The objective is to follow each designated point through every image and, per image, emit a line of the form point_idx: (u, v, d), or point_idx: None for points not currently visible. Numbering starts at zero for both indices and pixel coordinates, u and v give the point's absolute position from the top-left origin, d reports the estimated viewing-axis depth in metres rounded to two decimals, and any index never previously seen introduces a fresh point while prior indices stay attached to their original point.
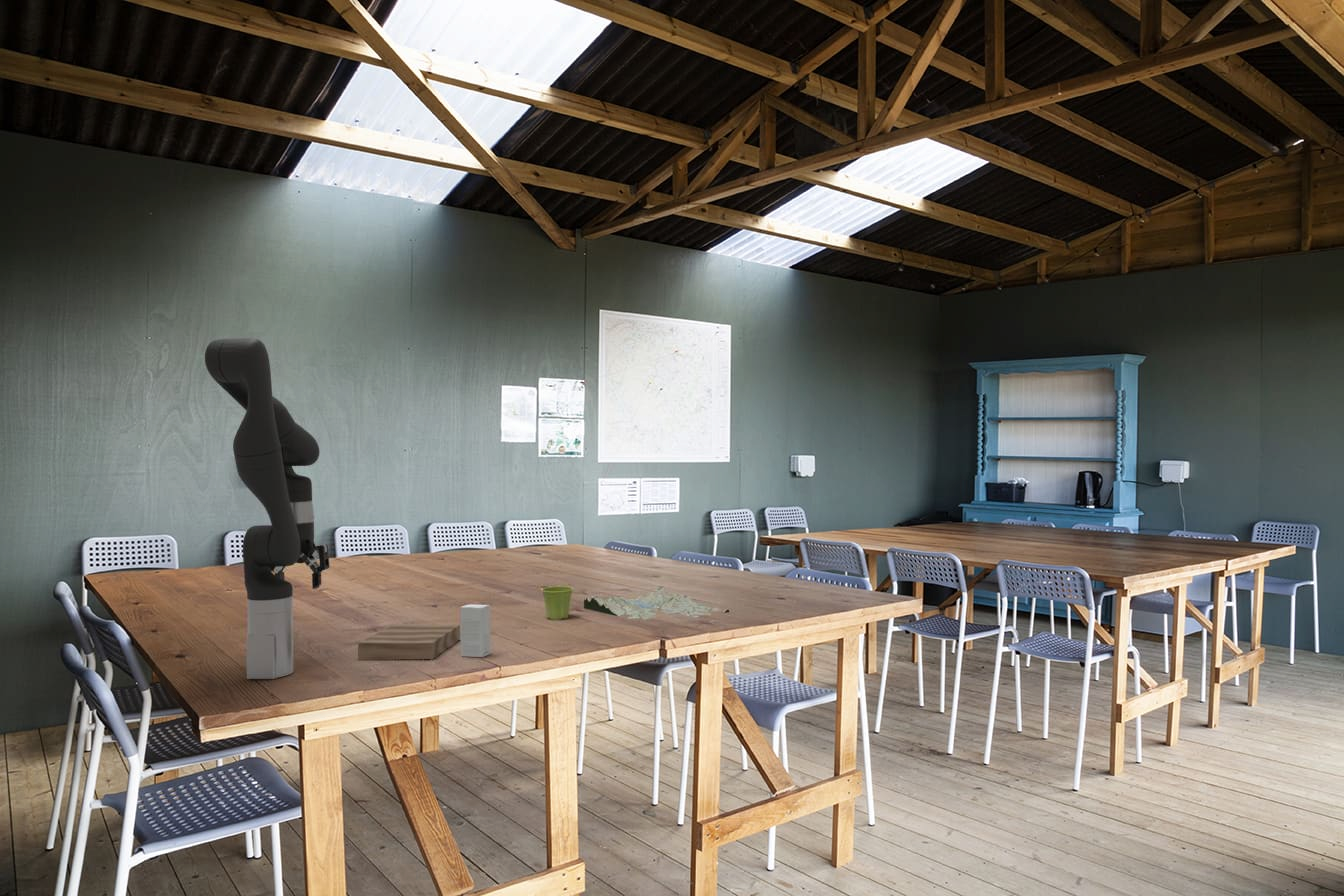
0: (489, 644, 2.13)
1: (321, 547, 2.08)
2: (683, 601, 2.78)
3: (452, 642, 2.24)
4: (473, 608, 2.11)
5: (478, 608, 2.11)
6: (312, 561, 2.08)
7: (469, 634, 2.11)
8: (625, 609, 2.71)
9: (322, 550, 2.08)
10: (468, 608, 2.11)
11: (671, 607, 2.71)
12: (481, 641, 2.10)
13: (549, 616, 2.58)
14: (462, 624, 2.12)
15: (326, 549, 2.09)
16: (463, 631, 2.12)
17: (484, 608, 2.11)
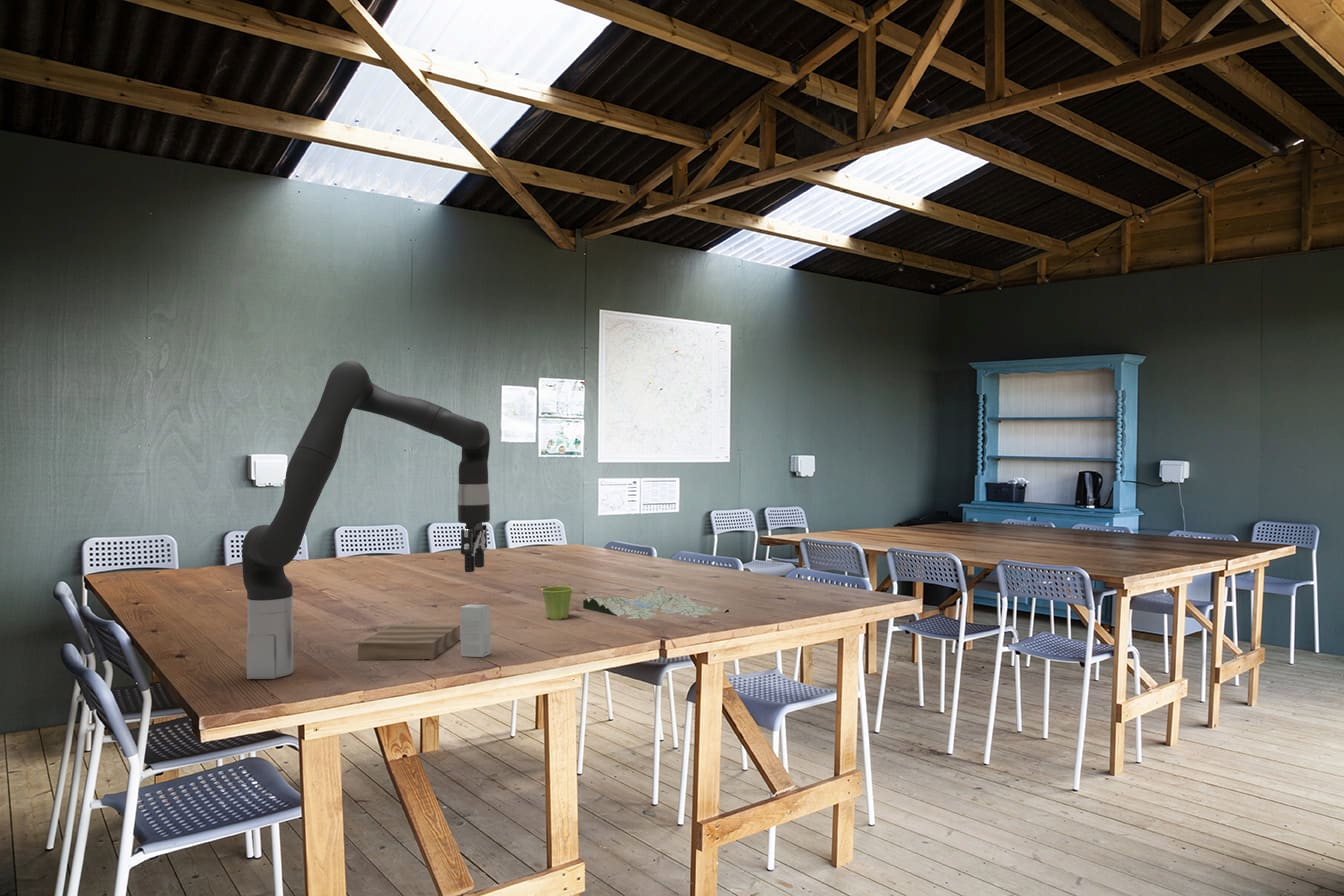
0: (489, 644, 2.13)
1: (486, 526, 2.19)
2: (682, 601, 2.78)
3: (452, 642, 2.24)
4: (473, 608, 2.11)
5: (478, 608, 2.11)
6: None
7: (469, 634, 2.11)
8: (625, 609, 2.70)
9: (486, 529, 2.20)
10: (468, 608, 2.11)
11: (671, 607, 2.71)
12: (481, 641, 2.10)
13: (549, 616, 2.58)
14: (462, 624, 2.12)
15: None
16: (463, 631, 2.12)
17: (484, 608, 2.11)
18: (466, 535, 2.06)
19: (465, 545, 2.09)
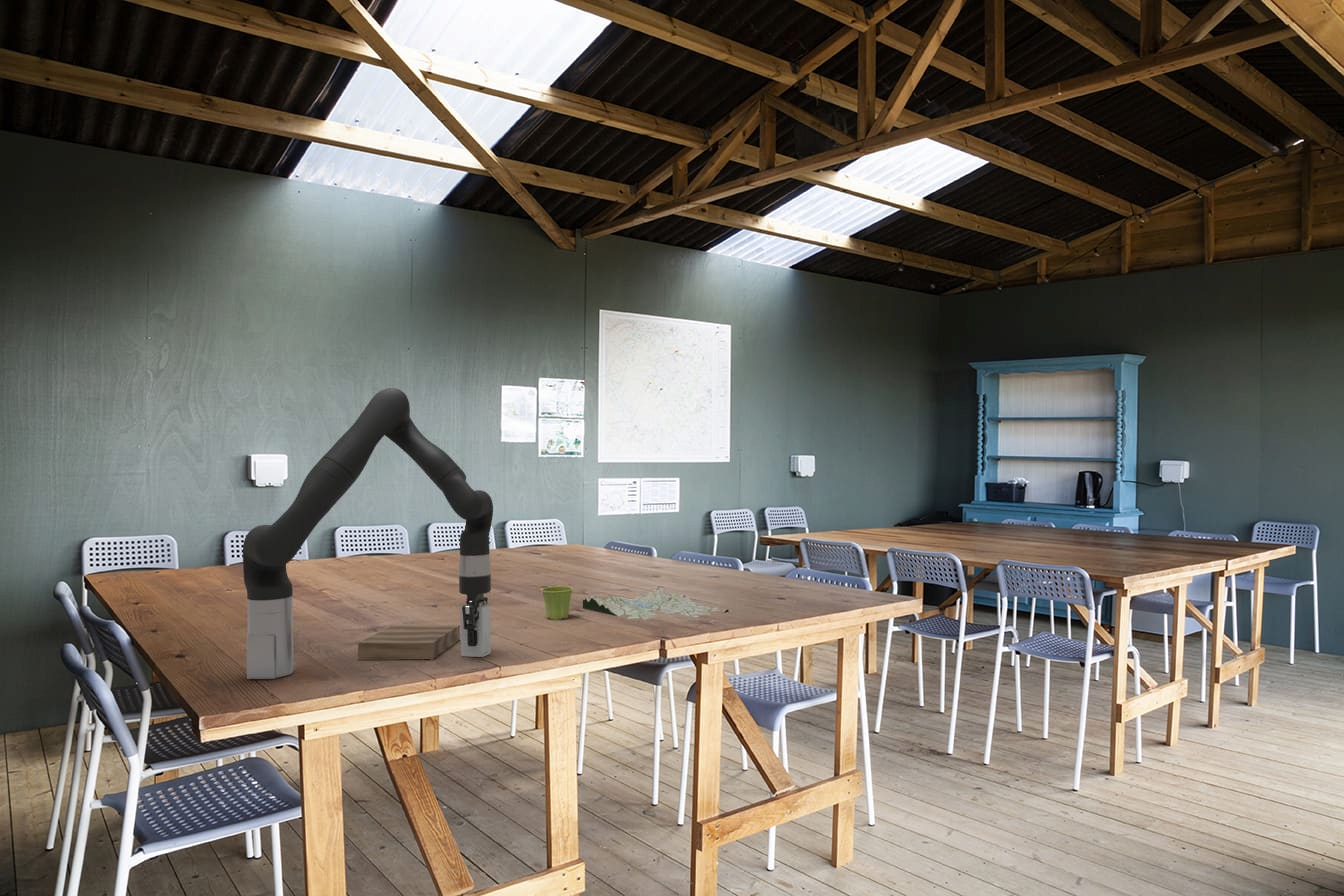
0: (489, 644, 2.13)
1: (487, 599, 2.19)
2: (682, 601, 2.78)
3: (452, 642, 2.24)
4: None
5: (478, 608, 2.11)
6: None
7: None
8: (624, 609, 2.70)
9: None
10: None
11: (670, 607, 2.71)
12: (481, 641, 2.10)
13: (549, 616, 2.58)
14: (462, 624, 2.12)
15: None
16: (463, 631, 2.12)
17: (484, 608, 2.11)
18: (468, 612, 2.07)
19: None
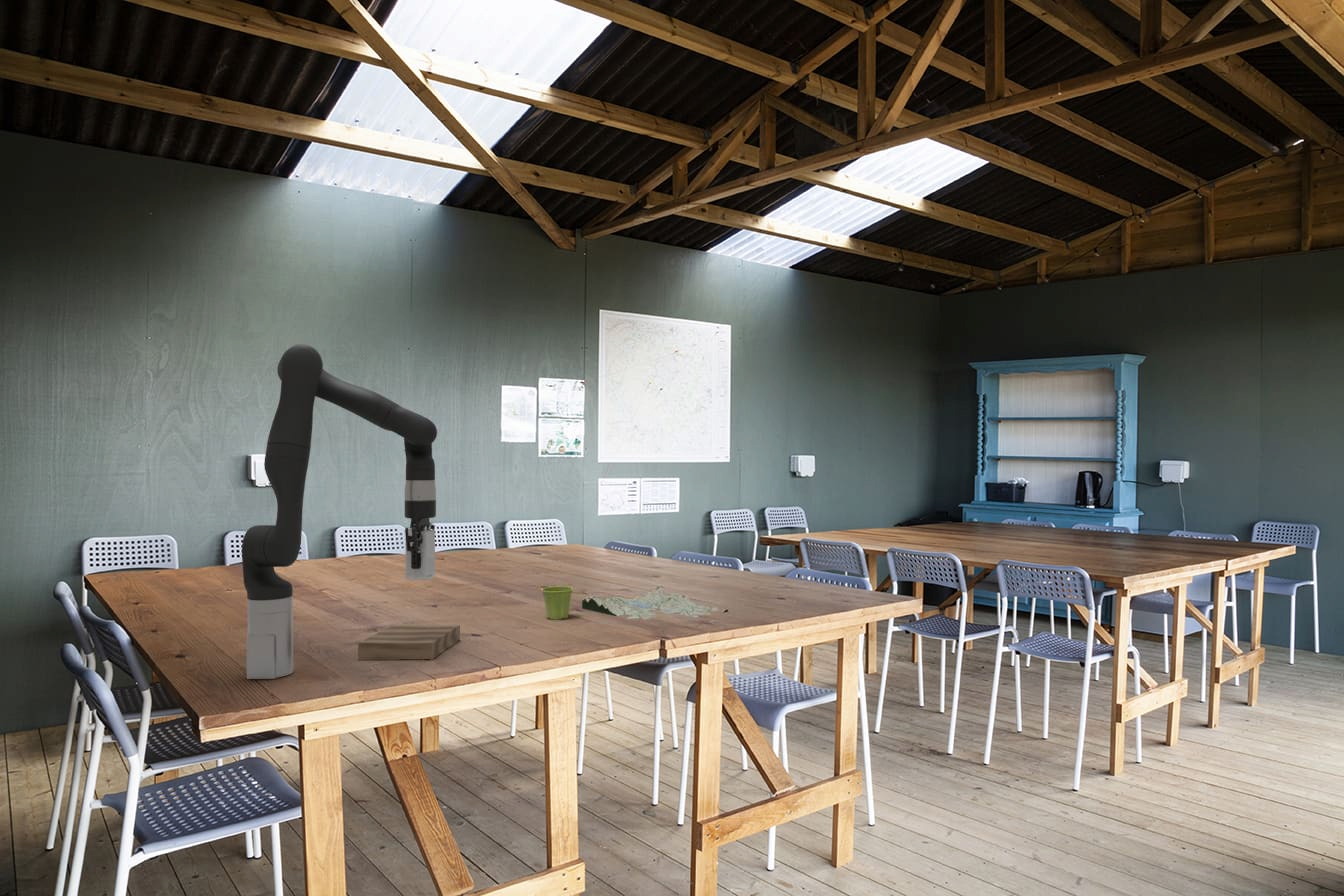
0: (433, 568, 2.18)
1: (434, 526, 2.24)
2: (681, 601, 2.78)
3: (452, 642, 2.24)
4: None
5: (422, 532, 2.16)
6: None
7: None
8: (624, 609, 2.70)
9: (434, 529, 2.24)
10: None
11: (670, 607, 2.71)
12: (424, 563, 2.15)
13: (549, 616, 2.58)
14: None
15: None
16: (407, 554, 2.17)
17: (428, 532, 2.17)
18: (410, 534, 2.12)
19: (411, 542, 2.15)
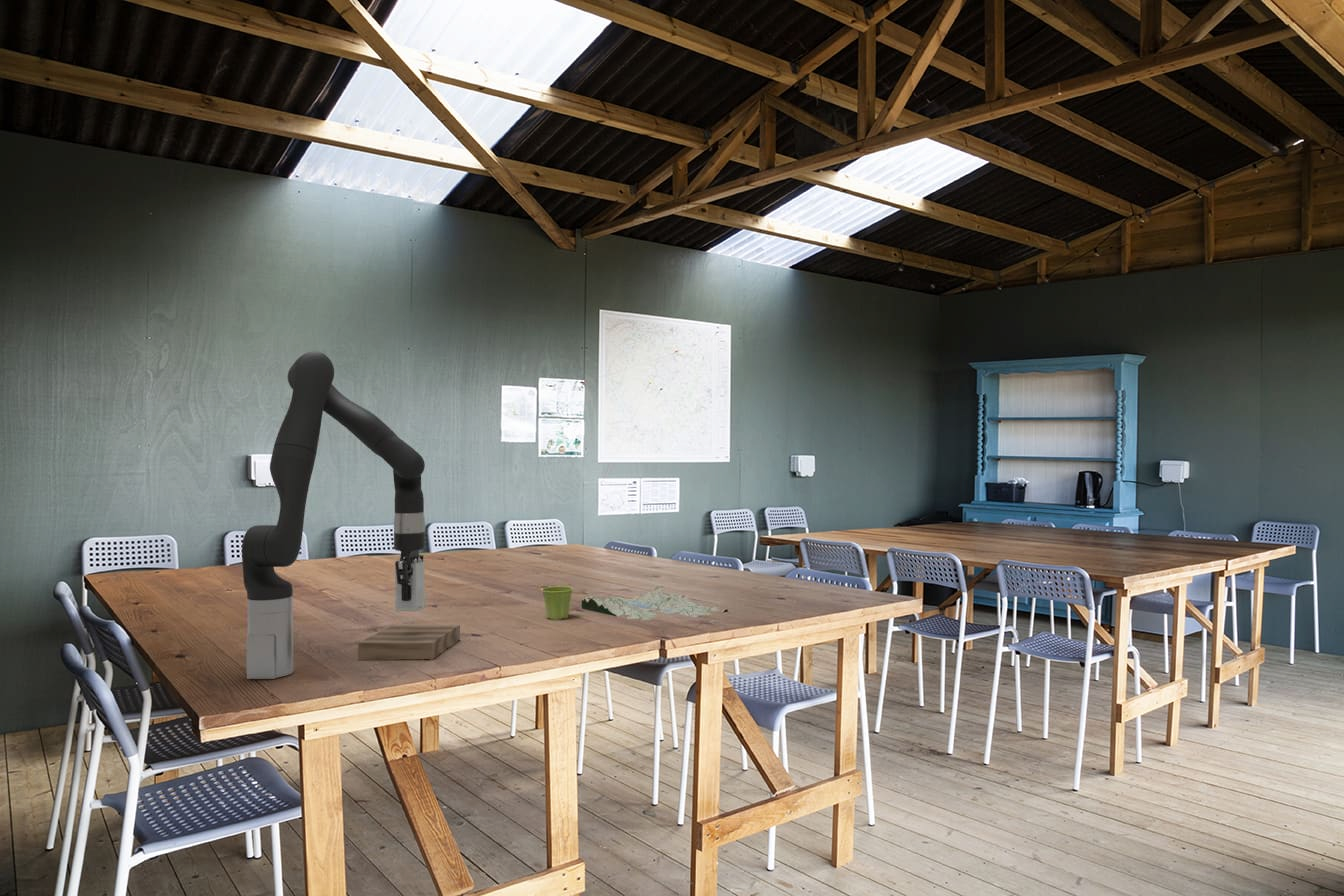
0: (423, 599, 2.21)
1: (423, 557, 2.26)
2: (681, 601, 2.78)
3: (452, 642, 2.24)
4: None
5: (412, 564, 2.18)
6: None
7: None
8: (623, 609, 2.70)
9: (422, 559, 2.26)
10: None
11: (670, 607, 2.71)
12: (415, 595, 2.17)
13: (549, 616, 2.58)
14: None
15: None
16: (397, 586, 2.19)
17: (418, 564, 2.19)
18: (401, 567, 2.14)
19: (401, 574, 2.17)
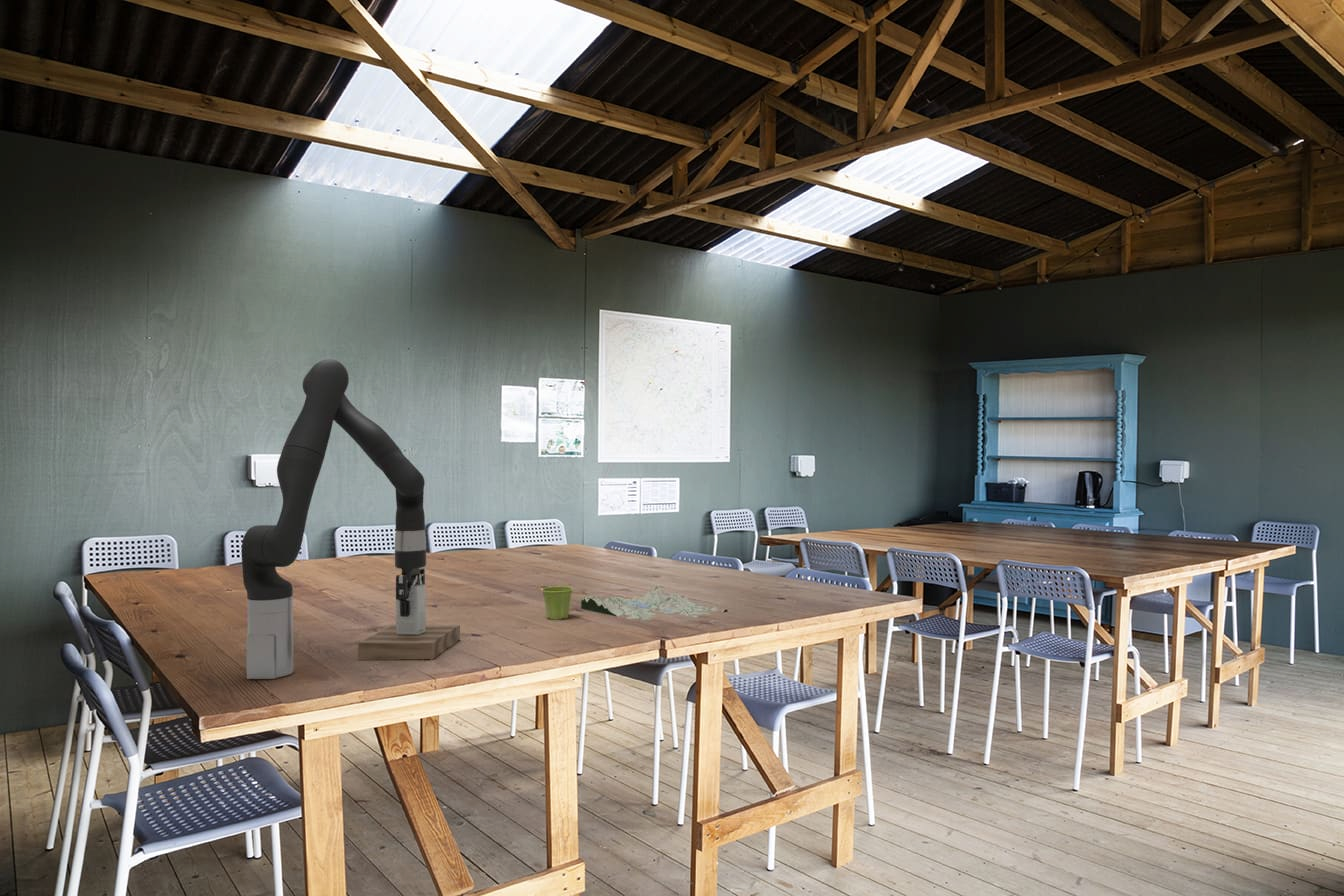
0: (424, 622, 2.21)
1: (424, 570, 2.26)
2: (680, 601, 2.78)
3: (452, 642, 2.24)
4: None
5: None
6: None
7: None
8: (623, 609, 2.70)
9: (424, 572, 2.27)
10: None
11: (669, 607, 2.71)
12: (416, 619, 2.17)
13: (549, 616, 2.58)
14: (398, 603, 2.19)
15: None
16: (398, 610, 2.18)
17: (419, 587, 2.19)
18: (401, 581, 2.13)
19: (401, 590, 2.16)
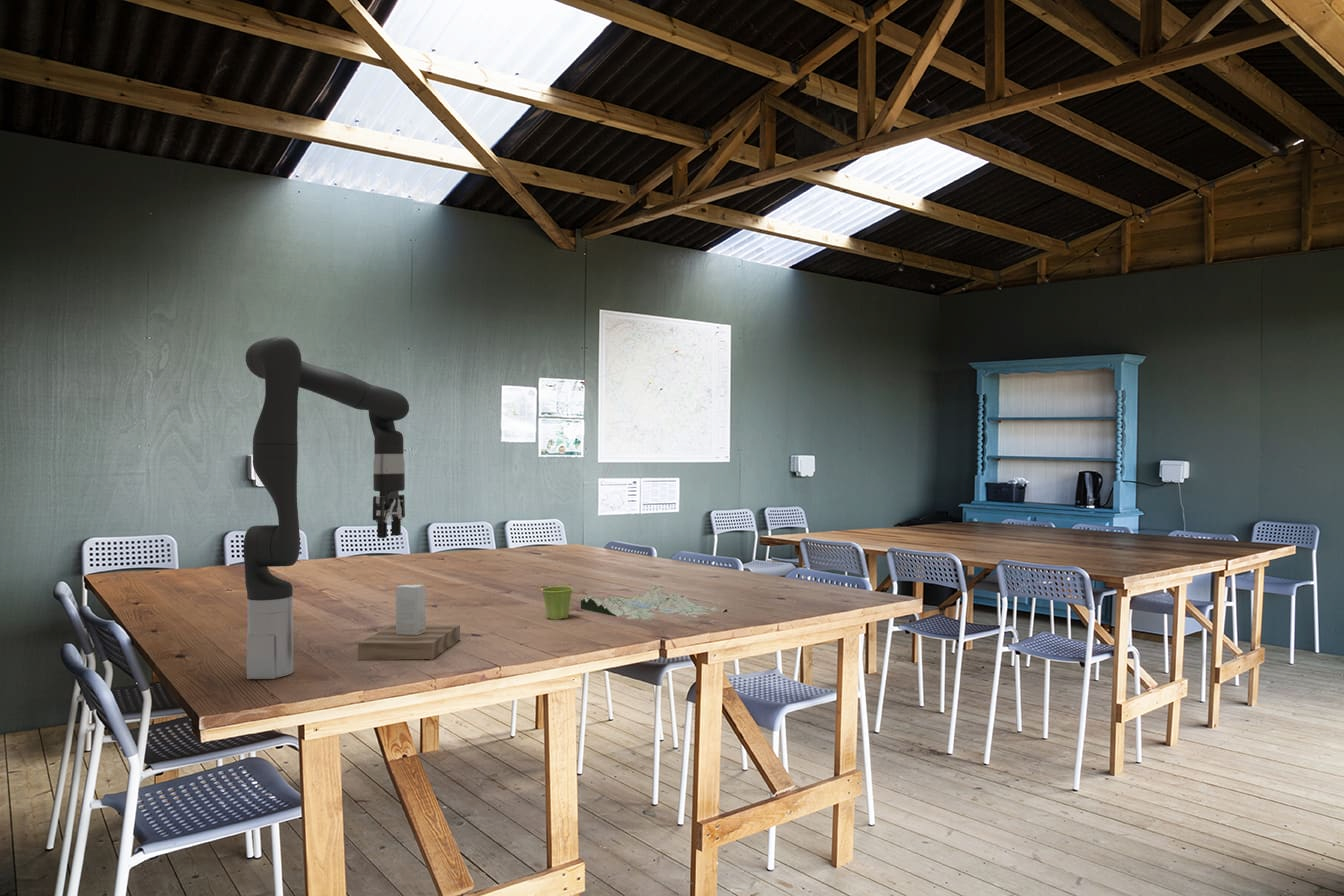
0: (424, 623, 2.20)
1: None
2: (680, 601, 2.79)
3: (452, 642, 2.24)
4: (408, 588, 2.18)
5: (413, 588, 2.18)
6: None
7: (404, 613, 2.18)
8: (623, 609, 2.70)
9: None
10: (403, 588, 2.18)
11: (669, 607, 2.71)
12: (416, 619, 2.17)
13: (549, 616, 2.58)
14: (397, 603, 2.18)
15: None
16: (398, 610, 2.18)
17: (419, 588, 2.18)
18: (378, 502, 2.15)
19: (378, 512, 2.17)
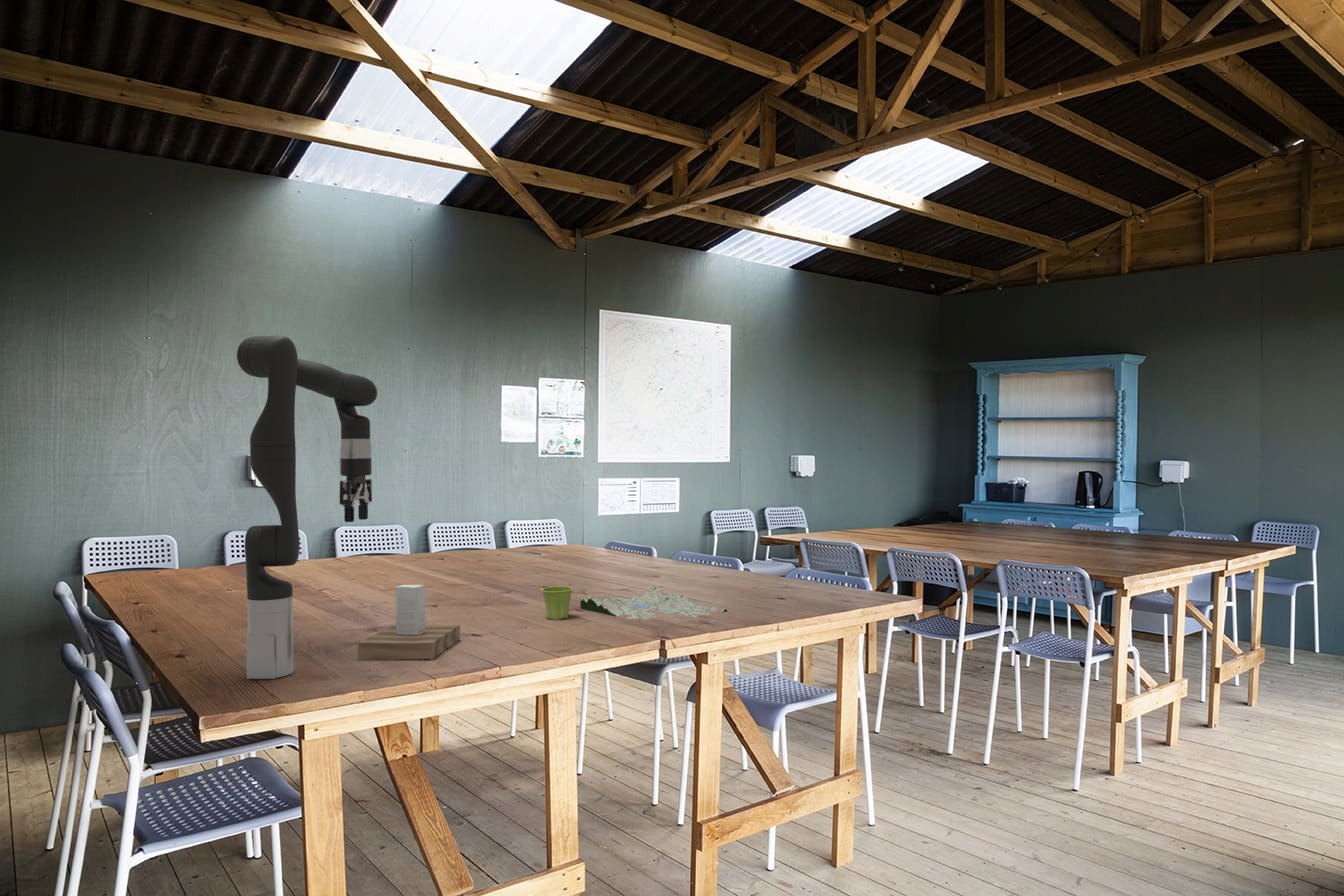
0: (424, 623, 2.20)
1: None
2: (680, 601, 2.79)
3: (452, 642, 2.24)
4: (408, 588, 2.18)
5: (413, 588, 2.18)
6: None
7: (404, 613, 2.18)
8: (623, 609, 2.70)
9: None
10: (403, 588, 2.18)
11: (669, 607, 2.71)
12: (416, 619, 2.17)
13: (549, 616, 2.58)
14: (397, 603, 2.18)
15: None
16: (398, 610, 2.18)
17: (419, 588, 2.18)
18: (345, 486, 2.17)
19: (345, 496, 2.20)
